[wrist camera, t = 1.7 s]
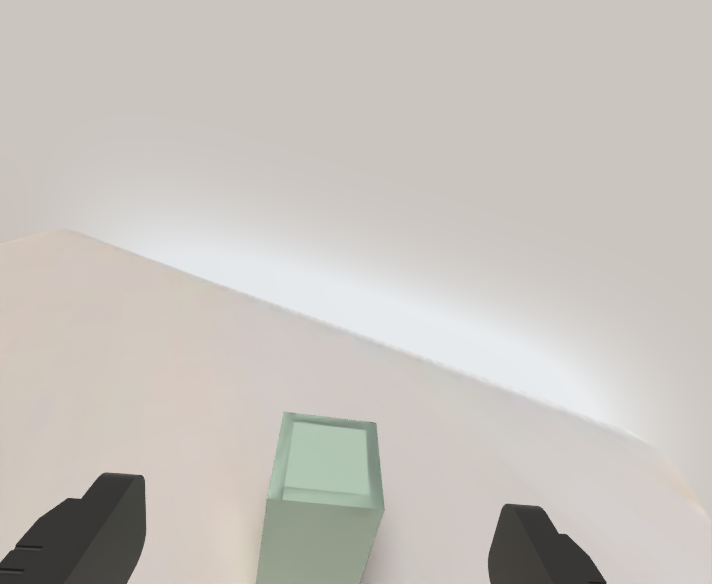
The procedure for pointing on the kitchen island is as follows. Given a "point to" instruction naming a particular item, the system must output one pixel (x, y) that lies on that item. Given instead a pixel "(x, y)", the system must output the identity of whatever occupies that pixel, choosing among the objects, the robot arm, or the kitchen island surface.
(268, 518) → the tall sage green box
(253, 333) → the kitchen island surface
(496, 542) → the robot arm
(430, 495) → the kitchen island surface
